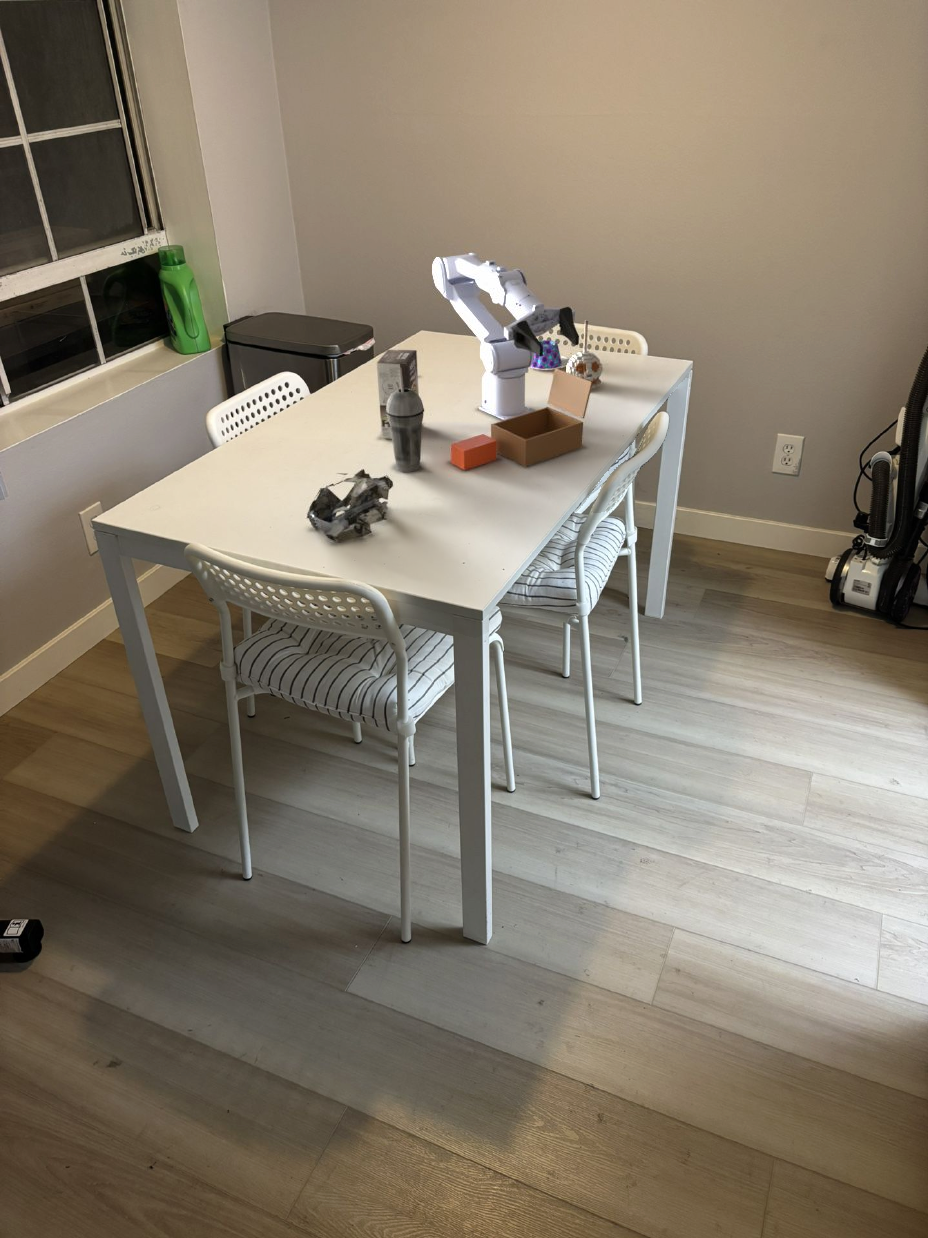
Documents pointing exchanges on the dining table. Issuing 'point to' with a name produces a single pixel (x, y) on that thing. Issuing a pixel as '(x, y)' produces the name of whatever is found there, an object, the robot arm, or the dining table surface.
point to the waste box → (537, 436)
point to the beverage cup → (406, 427)
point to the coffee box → (395, 380)
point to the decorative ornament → (585, 363)
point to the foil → (351, 508)
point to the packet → (473, 452)
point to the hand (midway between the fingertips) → (559, 346)
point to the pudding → (549, 357)
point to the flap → (570, 393)
